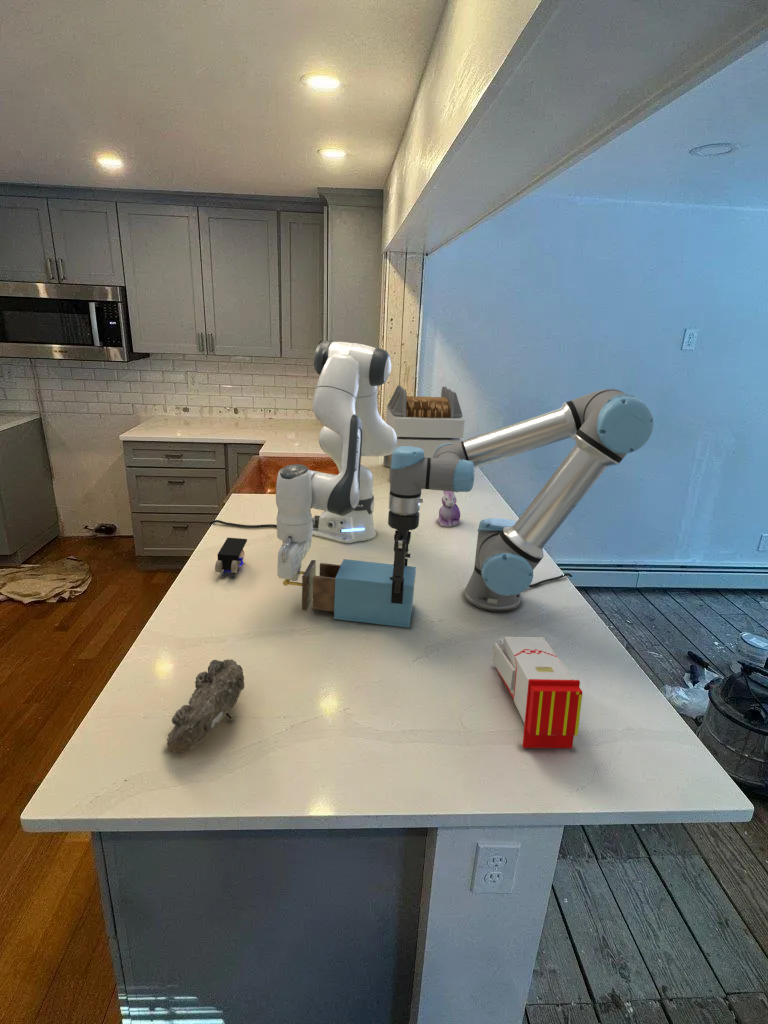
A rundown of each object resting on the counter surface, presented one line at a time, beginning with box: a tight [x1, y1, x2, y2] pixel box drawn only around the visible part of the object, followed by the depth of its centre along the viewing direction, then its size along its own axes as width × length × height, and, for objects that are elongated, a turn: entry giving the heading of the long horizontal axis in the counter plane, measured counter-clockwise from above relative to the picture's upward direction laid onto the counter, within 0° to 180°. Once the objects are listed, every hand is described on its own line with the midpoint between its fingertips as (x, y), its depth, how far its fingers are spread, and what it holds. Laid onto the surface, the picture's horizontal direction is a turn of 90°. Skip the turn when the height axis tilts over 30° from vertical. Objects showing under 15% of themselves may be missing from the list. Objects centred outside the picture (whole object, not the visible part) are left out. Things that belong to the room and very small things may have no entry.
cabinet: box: [333, 558, 417, 629], centre depth 145 cm, size 19×11×12 cm, turn 83°
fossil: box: [166, 658, 245, 754], centre depth 106 cm, size 22×10×15 cm
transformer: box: [383, 384, 465, 479], centre depth 268 cm, size 34×33×41 cm
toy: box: [491, 636, 583, 749], centre depth 115 cm, size 12×13×30 cm
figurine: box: [437, 491, 461, 528], centre depth 209 cm, size 9×10×15 cm
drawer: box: [282, 559, 341, 613], centre depth 146 cm, size 23×10×10 cm, turn 83°
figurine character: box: [214, 537, 248, 578], centre depth 166 cm, size 7×8×15 cm
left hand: (295, 578), depth 147 cm, fingers closed, pressing on drawer
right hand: (398, 591), depth 144 cm, fingers closed on cabinet, 11 cm apart
